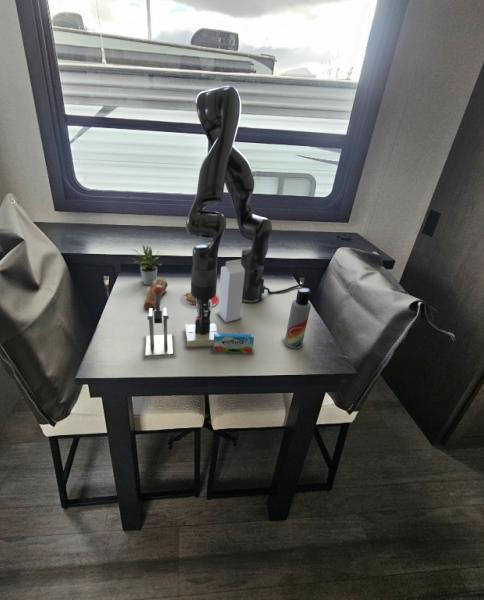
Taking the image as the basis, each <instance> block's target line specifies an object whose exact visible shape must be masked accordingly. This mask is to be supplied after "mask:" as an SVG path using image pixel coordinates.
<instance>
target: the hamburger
mask: <svg viewBox="0 0 484 600" xmlns="http://www.w3.org/2000/svg"><path fill="white" fill-rule="evenodd" d="M183 296H184V297H186V303H187V304H189V305H194V306H195V305H196V298H194V297H193V296H192V295H191V291H189V292H188V293H186V294H184V295H183ZM210 303H211V305H212V306H213V307H214V306H216V305H217V304H218V303H219V297H218V296H217V295H216V296H215V297H214V298H212V299H210Z"/></svg>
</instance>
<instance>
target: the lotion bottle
mask: <svg viewBox="0 0 484 600" xmlns="http://www.w3.org/2000/svg"><path fill="white" fill-rule="evenodd" d="M311 293H312V292H311V289H310V288H308V287H300V288H298V289H297V292H296V298H295V299H294V300H293V301H292V302H291V305H290V306H291V307H290V312H289V317H288V321H287V327H286V332H285V335H284V336H285V337H284V344H285V345H286V346H287V347H288V348H290V349H300V348H301V347H302V346H303V343H304V338H305V334H306V330H307V326H308V321H309V317H310V312H311V307H312V305H311V303H310V297H311Z"/></svg>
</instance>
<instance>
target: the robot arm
mask: <svg viewBox="0 0 484 600" xmlns="http://www.w3.org/2000/svg"><path fill="white" fill-rule="evenodd" d="M195 109H196V114H197V117H198V120H199V123H200V125H201V129H202V130H203V132H204V134H205V136H206V139H207V140H208V143H209V145H210V147H211V148H210V150H209V152H208V153H207V154H206V155H205V158H204V160H203V161H202V163H201V166H200V169H199V173H198V180H197V188H196V189H197V190H196V194H195V197H194V200H193V203H192V205H191V208H190V209H189V212H188V214H187V217H186V220H185V229H186V232H187V233H188V235H189V236H191V237H195V238H203V239H211V241H209V242H206V243H198V244H196V245H194V246H193V248H192V254H191V255H192V259H191V260H192V261H191V262H192V263H191V272H190V292H191V295H192V296H193V297H194V298H196V312H197V317H200V335H206V334H207V326H209V325H210V324H211V313H212V311H211V299H212V298H214V297H215V296H216V297H217V288H218V287H217V285H218V267H217V266H218V255H219V249H220V245H221V241H222V239H223V237H224V234H225V231H226V228H227V219H226V217H225V215H224V213H222V212H221V211H213V210H204V209H205V208H206V207H209V206H215V205H218V204H221V203H222V201H223V197H224V190H225V188H226V190H227V193H228V196H229V198H230V202H231V205H232V208H233V210H234V214H235V218H236V224H237V228H238V231H239V234H240V235H241V236H242V237H243V238H244V239H246V240H249V241H251V242H252V246H248V247H245V248H243V249H242V251H241V253H240V254H241V255H240V259H241V265H242V267H243V268H244V270H245V276H244V285H243V294H242V302H244V303H249V304H251V303H252V304H253V303H257V302H259V301H262V298H263V294H265V291H267V293H268V294H270V295H271V294H280V293H284V292H287V291H290V290H293V289H296V288H299V287H302V288H307V285H305V284H304V283H299V284H297V285H293V286H290V287H288V288H284V289H281V290H276V291H270V288H268V287H266V286H265V284H264V283H265V279H264V271H265V270H264V269H265V263H266V257H267V254H268V251H269V247H270V241H271V238H272V231H273V225H272V222H271V220H270V219H269V218H267V217H264V216H261V215H257V214H255V212H254V211H253V209H252V206H251V198H252V196H253V193H254V190H255V178H254V175H253V171H252V168H251V165H250V162H249V161H248V159H247V158H246V157H245V156H244V155H243V153H241V152H240V151H239V150H238V149H237V148H236V147H235V146H234V143H235V140H236V135H237V132H238V128H239V125H240V120H241V113H242V102H241V97H240V94H239V92H238V90H237V89H236V88H235V87H234V86H233V85H226V86H221V87H216V88H212V89H207V90H205V91H201V92H199V94H197V97H196V100H195ZM209 322H210V324H209Z"/></svg>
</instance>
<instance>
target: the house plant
mask: <svg viewBox="0 0 484 600" xmlns="http://www.w3.org/2000/svg"><path fill="white" fill-rule="evenodd" d="M141 246H142V249H143V254H144V256H142V255H141V254H140V253H139V252H138V251H137V250H136V249H133V248H131V250H133V251H134V252H136V253H138V254H139V255H137V257H138V258H139V259H141V261H140V260H137V259H135V258H133V260H134V262H133V265H134V264H137V263H138V266H139V270H140V275H141V278H142V282H143V284H144V285H147V286H151V284H152V282H153V280H155V279H157V275H158V267H157V266H162V263H158V261H156V260H158V259H159V258H160V256H158V255H159V252H157V253H156V254H155V256H154V257H153V249H152V246H149V245H146V246H145V245H144V244H143V243H141ZM162 254H163V252H161V253H160V255H162Z"/></svg>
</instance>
